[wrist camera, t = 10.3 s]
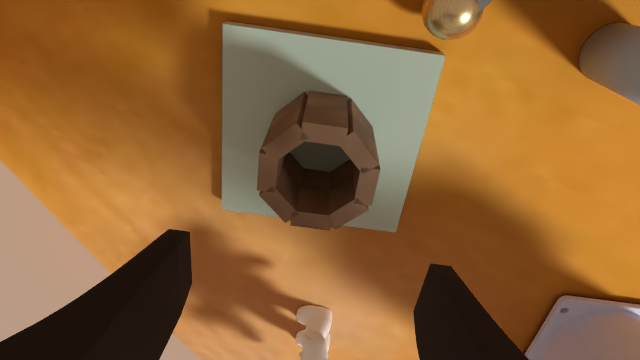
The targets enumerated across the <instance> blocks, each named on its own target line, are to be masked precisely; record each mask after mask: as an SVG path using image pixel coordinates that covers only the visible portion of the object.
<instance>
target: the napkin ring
mask: <svg viewBox="0 0 640 360" xmlns="http://www.w3.org/2000/svg"><path fill="white" fill-rule="evenodd" d="M305 141H306V142H313V143H320V144H328V145H335V146H340V147H341V148H342V149H343V150H344V152H345V153H346V154H347V155H348V157H349V158H350V159H349V160H348V161H346V162H345V163H343V164H342V165H340V166H339V167H337V168H335V169H334V170H332V171H331V172H328V171H320V170H313V169H306V168H303V167H302V166H301V164H300V163H299V162H298V161H297V160H296V159H295V158H294V156H293V155H292V154H291V153H290V151H292V150H293V149H295V148H296V147H298V146H299V145H300V144H302V143H303V142H305ZM379 174H380V164H379V159H378V153H377V148H376V142H375V137H374V131H373V127H372V125H371V124H370V123H369V121H368V120H367V119H366V117H365V116H364V115H363V113H362V112H361V111H360V109H359V108H358V107H357V105H356V104H355V103H354V101H353V100H352V99H350V100H349V101H347V96H345V95H338V94H331V93H324V92H317V91H310V90H309V94H308V96H307V94H306V93H305V92H303V93H302V94H301V95H299V96H298V97H297V98H295V99H294V100H293V101H291V102H290V103H289V104H287V105H286V106H285V107H283V108H282V109H281V110H279V111H278V112H277V113H276V114H275V116H274V117H273V120H272V122H271V125H270V127H269V129H268V132H267V134H266V137H265V139H264V142H263V144H262V147H261V149H260V152H259V161H258V177H257V191H260V193H259V196H260V197H261V198H262V199H263V200H264V201H265V202H266V203H267V204H268V205H269V206H270V207H271V209H272V210H273V211H274V212H275V213H276V214H277V215H278V216H279V217H280V218H281V219H282V220H283V221H284V222H285V223H286V222H287V221H289V220H291V223H290V225H292V226H300V227H307V228H315V229H322V230H330V227H331V225H332V226H333V228H334V229H337V228H339V227H340V226H342V225H344V224H346V223H347V222H349V221H351V220H353V219H354V218H356V217H358V216H359V215H361V214H363V213H365V212H366V211H368V210H369V209H368V206H372V203H373V199H374V195H375V191H376V187H377V182H378V178H379Z"/></svg>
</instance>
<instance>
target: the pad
mask: <svg viewBox="0 0 640 360" xmlns="http://www.w3.org/2000/svg"><path fill="white" fill-rule="evenodd" d="M445 57H446V56H445V55H444V54H443V53H442V52H439V51H432V50H425V49H418V48H411V47H404V46H397V45H390V44H384V43H377V42H370V41H363V40H356V39H349V38H342V37H335V36H328V35H321V34H314V33H307V32H300V31H293V30H286V29H279V28H272V27H266V26H259V25H252V24H245V23H238V22H231V21H226V22H225V23H223V47H222V210H228V211H236V212H243V213H251V214H258V215H266V216H274V217H279V216H278V215H277V214H276V213H275V212H274V211H273V210H272V209H271V207H270V206H269V205H268V204H267V203H266V202H265V201H264V200H263V199H262V198H261V197H260V196H259V193H260V191H257V177H258V161H259V152H260V149H261V147H262V144H263V142H264V139H265V137H266V134H267V132H268V129H269V127H270V125H271V122H272V120H273V117H274V116H275V114H276V113H277V112H278V111H279V110H281V109H282V108H283V107H285V106H286V105H287V104H289V103H290V102H291V101H293V100H294V99H295V98H297V97H298V96H299V95H301V94H302V93H303V92H305V93H306V94H307V96H308V94H309V90H310V91H317V92H324V93H331V94H338V95H345V96H347V101H349V100H350V99H352V100H353V101H354V103H355V104H356V105H357V107H358V108H359V109H360V111H361V112H362V113H363V115H364V116H365V117H366V119H367V120H368V121H369V123H370V124H371V125H372V127H373V131H374V137H375V142H376V148H377V153H378V159H379V164H380V174H379V178H378V182H377V187H376V191H375V195H374V199H373V203H372V206H368V209H369V210H368V211H366V212H365V213H363V214H361V215H359V216H358V217H356V218H354V219H353V220H351V221H349V222H347V223H346V224H344V225H342V226H349V227H357V228H364V229H372V230H379V231H387V232H394V233H396V230H397V227H398V223H399V219H400V216H401V212H402V209H403V205H404V202H405V198H406V195H407V191H408V188H409V184H410V181H411V177H412V173H413V170H414V166H415V163H416V159H417V156H418V152H419V149H420V145H421V142H422V138H423V135H424V131H425V127H426V124H427V120H428V117H429V113H430V110H431V106H432V103H433V99H434V96H435V92H436V89H437V85H438V81H439V78H440V74H441V71H442V67H443V64H444V60H445ZM290 153H291V154H292V155H293V156H294V158H295V159H296V160H297V161H298V162H299V163H300V164H301V166H302V167H303V168H306V169H313V170H320V171H328V172H331V171H332V170H334V169H335V168H337V167H339V166H340V165H342V164H343V163H345V162H346V161H348V160H349V159H350V158H349V157H348V155H347V154H346V153H345V152H344V150H343V149H342V148H341V147H340V146H335V145H328V144H320V143H313V142H306V141H305V142H303V143H302V144H300V145H299V146H298V147H296V148H295V149H293V150H292V151H290Z"/></svg>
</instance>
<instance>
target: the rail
mask: <svg viewBox="0 0 640 360" xmlns="http://www.w3.org/2000/svg"><path fill="white" fill-rule="evenodd" d="M491 1H492V0H424V1H423V4H422V19H423V22H424V25H425V27H426V28H427V30H428V31H429V32H430V33H431V34H432V35H434V36H436V37H437V38H440V39H444V40H454V39H458V38H461V37H463V36H465V35H467V34H468V33H470V32H471V31H472V30H473V29H474V28H475V27H476V26H477V24H478V23H479V21H480V19H481V17H482V14H483V11H484V8H485V7H486V6H487V5H488V4H489V3H490V2H491Z"/></svg>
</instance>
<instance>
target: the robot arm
mask: <svg viewBox="0 0 640 360" xmlns="http://www.w3.org/2000/svg"><path fill="white" fill-rule="evenodd" d="M191 284H192V271H191V249H190V232H187V231H179V230H172V229H169V230H167V231H166V232H165V233H163V234H162V235H161V236H159V237H158V238H157V239H156V240H155V241H153V242H152V243H151V244H150V245H148V246H147V247H146V248H145V249H143V250H142V251H141V252H140V253H138V254H137V255H136V256H135V257H133V258H132V259H131V260H129V261H128V262H127V263H126V264H124V265H123V266H122V267H120V268H119V269H118V270H116V271H115V272H114V273H112V274H111V275H110V276H108V277H107V278H106V279H104V280H103V281H101V282H100V283H99V284H97V285H96V286H94V287H93V288H91V289H90V290H88V291H87V292H86V293H84V294H83V295H81V296H80V297H78V298H77V299H75V300H74V301H72V302H71V303H69V304H67V305H66V306H64V307H63V308H61V309H59V310H58V311H56V312H54V313H53V314H51V315H49V316H48V317H46V318H44V319H43V320H41V321H39V322H37V323H36V324H34V325H32V326H30V327H28V328H26V329H24V330H22V331H20V332H18V333H17V334H15V335H13V336H11V337H9V338H7V339H5V340H3V341H1V342H0V360H159V359H160V357H161V354H162V352H163V351H164V349H165V347H166V345H167V343H168V340H169V338H170V336H171V334H172V332H173V330H174V328H175V326H176V324H177V322H178V320H179V318H180V316H181V313H182V310H183V308H184V305H185V302H186V299H187V296H188V293H189V290H190V287H191ZM414 323H415V334H416V343H417V348H418V353H419V358H420V360H640V305H638V304H631V303H623V302H615V301H607V300H600V299H592V298H584V297H577V296H569V295H565V296H562V297H560V298H559V299H558V300H557V302H556V303H555V305H554V307H553V308H552V310H551V312H550V313H549V315H548V317H547V318H546V320H545V321H544V323H543V325H542V326H541V328H540V330H539V331H538V333H537V335H536V336H535V338H534V340H533V341H532V343H531V345H530V346H529V348H528V350H527V351H526V353H525V355H524V354H523V353H522V352H521V351H520V349H519V348H518V347H517V346H516V345H515V344H514V343H513V342H512V341H511V340H510V339H509V337H508V336H507V335H506V334H505V333H504V332H503V331H502V329H501V328H500V327H499V326H498V325H497V324H496V322H495V321H494V320H493V319H492V318H491V316H490V315H489V314H488V313H487V312H486V310H485V309H484V308H483V307H482V305H481V304H480V303H479V302H478V300H477V299H476V298H475V297H474V295H473V294H472V293H471V291H470V290H469V289H468V288H467V286H466V285H465V284H464V282H463V281H462V280H461V279H460V277H459V276H458V275H457V273H456V272H455V271H454V270H453V269H452V267H451V266H445V265H437V264H430V266H429V269H428V272H427V275H426V278H425V281H424V283H423V286H422V289H421V292H420V295H419V297H418V300H417V303H416V306H415V309H414Z"/></svg>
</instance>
